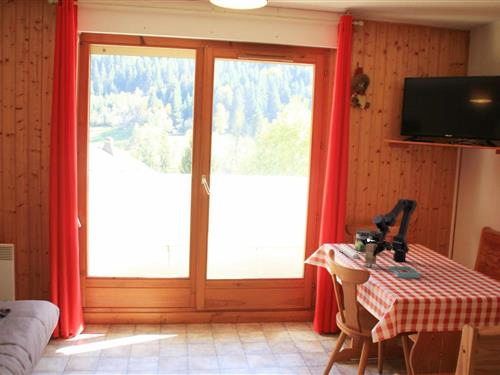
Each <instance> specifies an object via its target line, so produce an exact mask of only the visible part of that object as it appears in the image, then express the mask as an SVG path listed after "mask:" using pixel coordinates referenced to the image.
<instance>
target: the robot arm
mask: <svg viewBox="0 0 500 375" xmlns="http://www.w3.org/2000/svg"><path fill="white" fill-rule="evenodd" d="M397 200H398V201H397V202H396V204H395V205H394V207H393V208H392V209H391V211H390V212H388V213H386V214H384V215H383V214H379V215H376V216H375V217H373V219H372V222H373V223H374V225H375V228H376V229H377V231H376V230H371V229H370V230H369V231H370V233H369V236H371V240H370V239H369V238H368V237H365V236H362V237H361V239H360V240H361V242H362V244H363V245H366V244H370V243H371V244H376V245H377V248H376V250H375V252H374V254H373V256H375V255H376V256H377V255H379V254H380V253H383V252H385V251H388V252H391V251H394V252H393V256H392V261H393V260H394V261H395V262H396V263H407V260H406V258H407V256H406V255H407V253H409V250H410V248H409V246H408V240H407V233H408V229H409V224H410V221H411V216H412V214H414V212H415V211H416V209H417V206H418V203H417V201H416V200H415V199H409V198H405V199H404V198H399V199H397ZM401 212H402V216H401V220H400V224H399V228H398V232H397V234H396V235H394V236H393V239H392V242H390V241H388V240H387V241H386V237H387V234H390V233H391V230H390V228H389V227H391V228H393V227H394V226H395V225H396V223H397V218H398V216H399V215H400V214H401Z"/></svg>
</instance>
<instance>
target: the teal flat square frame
mask: <svg viewBox="0 0 500 375" xmlns="http://www.w3.org/2000/svg"><path fill="white" fill-rule="evenodd" d="M397 270H398V271H397ZM399 270H401V271H404V270H405V271H407V270H409V271H410V272H399ZM388 271H391V272H392V273H393V274H395V275H396V278H397V279H421V272H420V271H418V270H417V269H415V268H412V266H392V265H391V266H390V265H389V266H388Z"/></svg>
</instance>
